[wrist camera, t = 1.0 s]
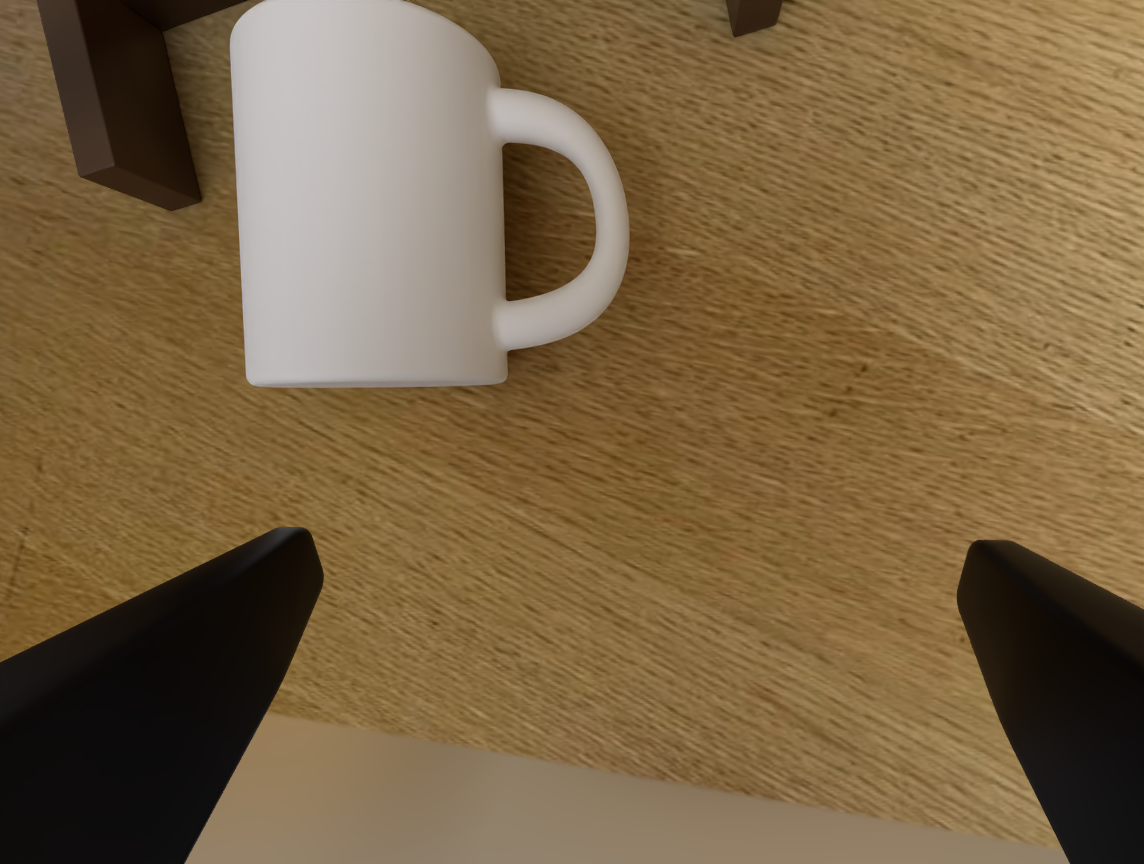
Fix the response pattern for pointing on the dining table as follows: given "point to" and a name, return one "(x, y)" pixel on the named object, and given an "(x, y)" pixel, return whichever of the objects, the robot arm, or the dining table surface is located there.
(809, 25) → the dining table surface
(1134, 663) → the robot arm
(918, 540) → the dining table surface
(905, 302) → the dining table surface
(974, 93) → the dining table surface
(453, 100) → the mug
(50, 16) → the shelf
